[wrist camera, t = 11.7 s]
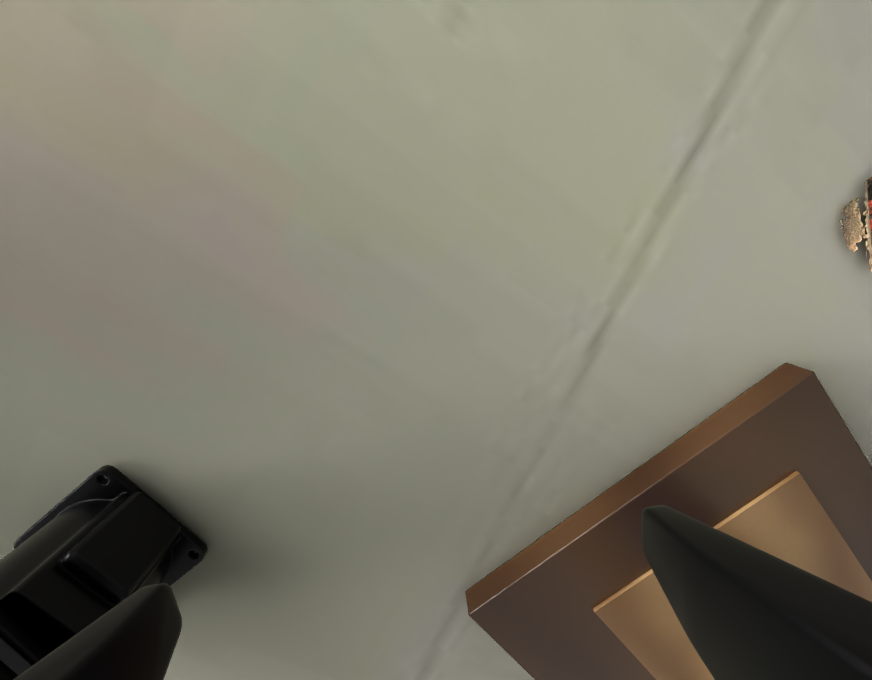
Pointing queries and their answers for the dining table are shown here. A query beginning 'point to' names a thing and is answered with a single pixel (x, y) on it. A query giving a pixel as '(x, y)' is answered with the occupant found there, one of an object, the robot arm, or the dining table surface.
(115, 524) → the robot arm
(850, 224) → the painted stone tile
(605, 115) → the dining table surface
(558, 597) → the desk board
